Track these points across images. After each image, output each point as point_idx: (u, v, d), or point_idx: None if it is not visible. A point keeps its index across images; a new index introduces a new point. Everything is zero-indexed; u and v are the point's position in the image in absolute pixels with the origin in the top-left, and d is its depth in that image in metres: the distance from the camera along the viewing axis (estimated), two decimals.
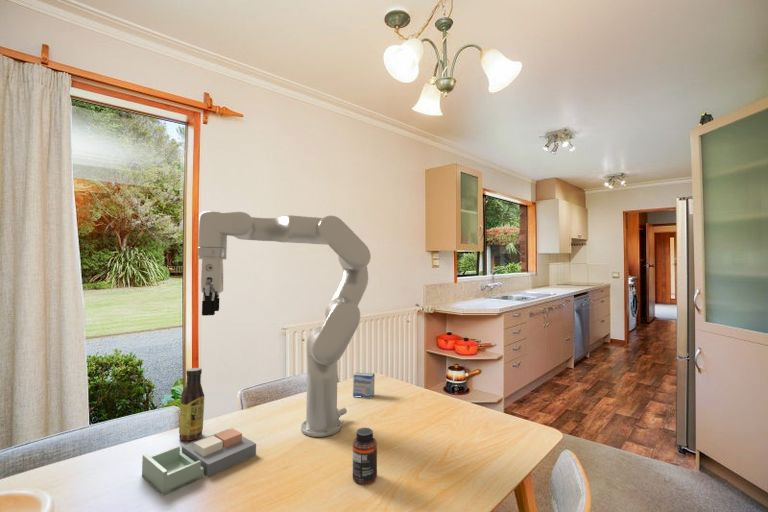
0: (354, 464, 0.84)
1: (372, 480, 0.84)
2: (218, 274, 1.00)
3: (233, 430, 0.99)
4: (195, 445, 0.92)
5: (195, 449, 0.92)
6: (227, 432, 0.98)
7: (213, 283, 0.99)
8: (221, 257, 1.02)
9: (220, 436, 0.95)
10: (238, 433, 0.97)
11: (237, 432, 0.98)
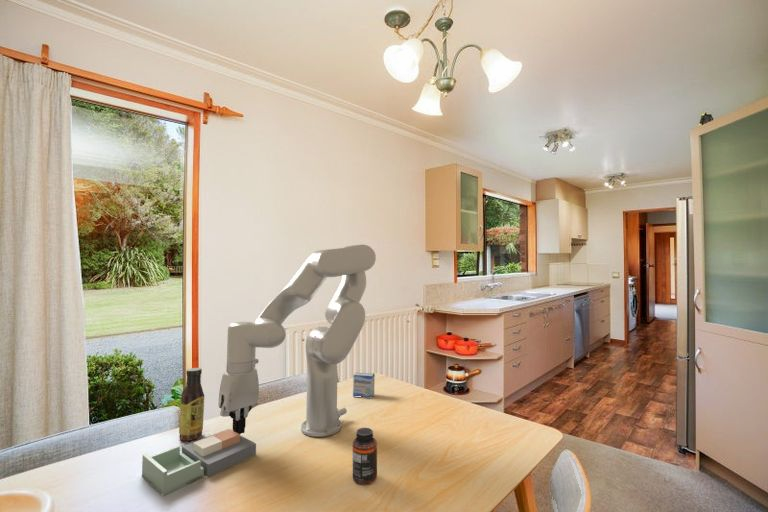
0: (354, 464, 0.84)
1: (372, 480, 0.84)
2: None
3: (231, 431, 0.99)
4: (194, 445, 0.92)
5: (194, 449, 0.92)
6: (224, 432, 0.98)
7: None
8: None
9: (218, 437, 0.95)
10: (236, 434, 0.97)
11: (235, 433, 0.97)
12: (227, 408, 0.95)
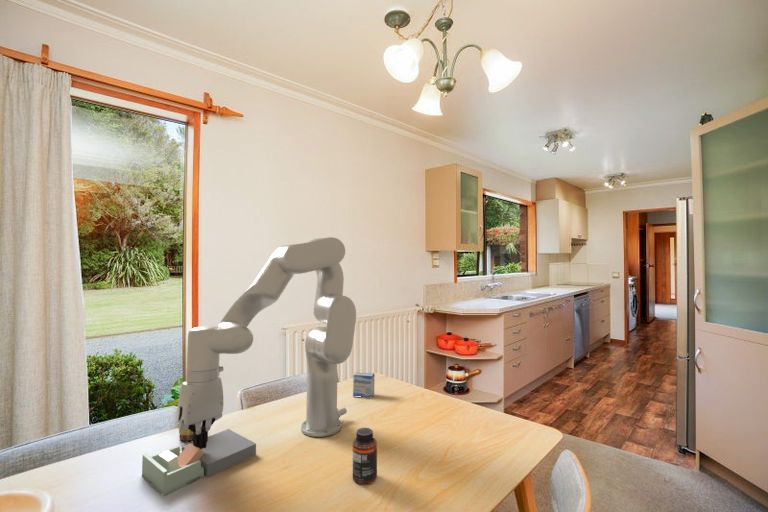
0: (354, 464, 0.84)
1: (372, 480, 0.84)
2: None
3: (190, 447, 0.90)
4: None
5: None
6: (184, 452, 0.89)
7: None
8: None
9: None
10: (196, 450, 0.88)
11: (194, 449, 0.89)
12: (185, 421, 0.87)
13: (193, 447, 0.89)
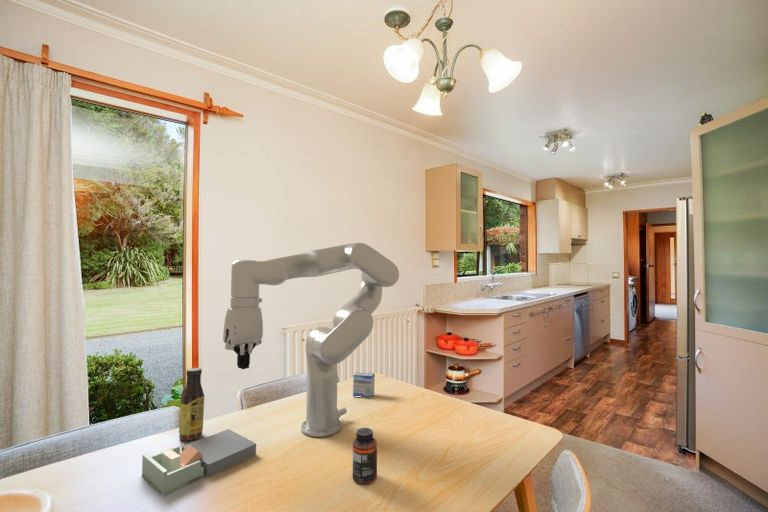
0: (354, 464, 0.84)
1: (372, 480, 0.84)
2: None
3: (190, 448, 0.90)
4: None
5: None
6: (183, 453, 0.89)
7: None
8: None
9: None
10: (194, 452, 0.88)
11: (193, 450, 0.88)
12: (232, 341, 0.96)
13: (192, 449, 0.89)
